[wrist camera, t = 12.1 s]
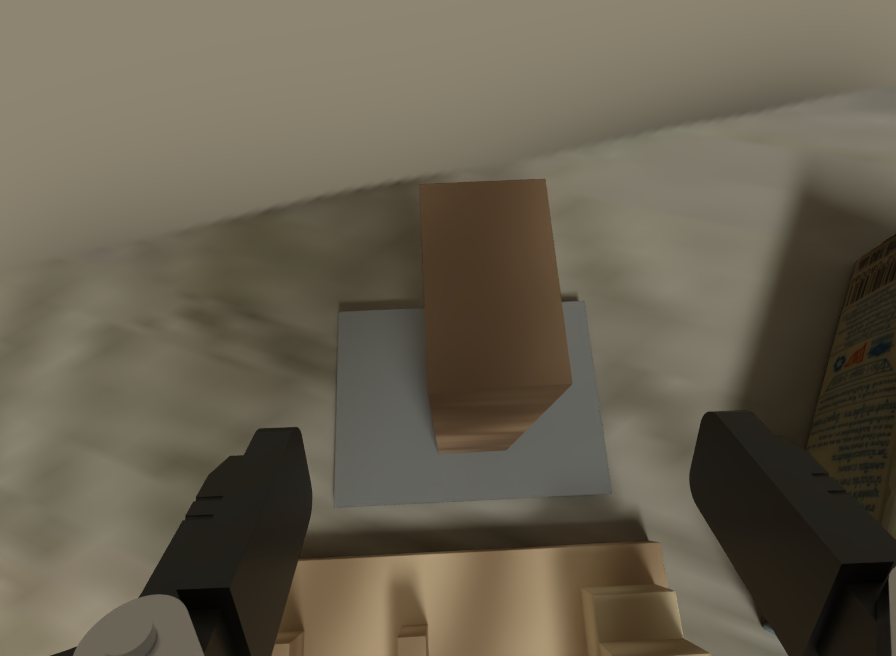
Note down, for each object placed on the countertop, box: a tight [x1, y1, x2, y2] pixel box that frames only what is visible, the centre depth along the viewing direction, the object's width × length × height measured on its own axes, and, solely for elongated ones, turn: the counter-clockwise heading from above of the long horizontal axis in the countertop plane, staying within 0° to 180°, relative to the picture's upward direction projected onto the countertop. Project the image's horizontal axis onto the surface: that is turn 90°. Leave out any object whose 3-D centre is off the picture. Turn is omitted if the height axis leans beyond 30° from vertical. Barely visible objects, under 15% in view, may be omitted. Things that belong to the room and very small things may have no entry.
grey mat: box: [334, 301, 612, 507], centre depth 24 cm, size 12×9×1 cm
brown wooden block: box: [419, 179, 573, 454], centre depth 18 cm, size 3×5×13 cm, turn 3°
